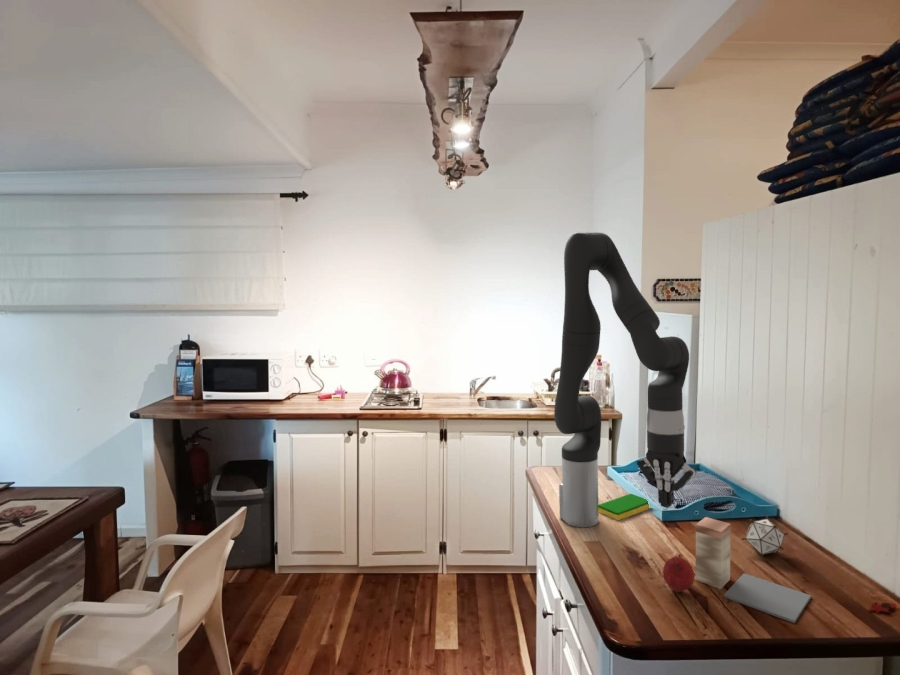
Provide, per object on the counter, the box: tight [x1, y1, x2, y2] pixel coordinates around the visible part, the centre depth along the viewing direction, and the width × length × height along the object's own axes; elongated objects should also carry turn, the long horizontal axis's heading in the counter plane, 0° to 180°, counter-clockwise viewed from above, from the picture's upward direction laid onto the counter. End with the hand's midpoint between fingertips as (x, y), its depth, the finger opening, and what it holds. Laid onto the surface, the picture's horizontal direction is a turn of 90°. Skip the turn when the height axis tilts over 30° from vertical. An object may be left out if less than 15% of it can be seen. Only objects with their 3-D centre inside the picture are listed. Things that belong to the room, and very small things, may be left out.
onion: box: [662, 552, 695, 593], centre depth 107 cm, size 6×6×8 cm
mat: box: [723, 572, 812, 624], centre depth 104 cm, size 12×11×1 cm
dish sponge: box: [598, 493, 649, 521], centre depth 147 cm, size 7×14×2 cm, turn 122°
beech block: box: [695, 516, 732, 590], centre depth 110 cm, size 5×5×12 cm
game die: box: [740, 515, 789, 559], centre depth 120 cm, size 9×8×10 cm
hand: (666, 506), depth 117 cm, fingers closed
